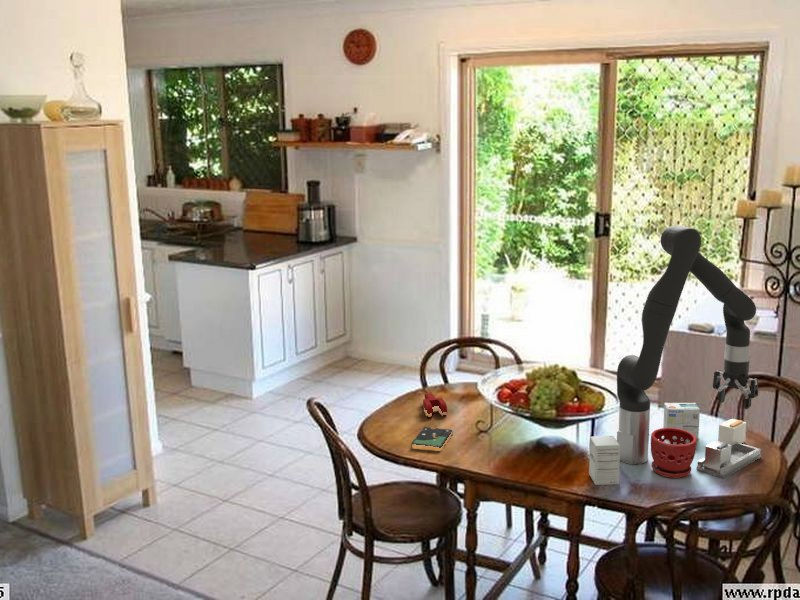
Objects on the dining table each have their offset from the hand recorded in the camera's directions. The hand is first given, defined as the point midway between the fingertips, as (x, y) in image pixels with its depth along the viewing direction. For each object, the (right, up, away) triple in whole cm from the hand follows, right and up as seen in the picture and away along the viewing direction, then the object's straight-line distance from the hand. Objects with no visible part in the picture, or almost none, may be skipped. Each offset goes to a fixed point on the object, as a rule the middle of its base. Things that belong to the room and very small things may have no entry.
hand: (734, 405), depth 272 cm
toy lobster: (-96, -7, +40) cm, 105 cm away
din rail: (-6, -17, -12) cm, 21 cm away
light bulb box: (-14, -12, +10) cm, 21 cm away
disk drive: (-97, -15, +11) cm, 99 cm away
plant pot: (-26, -18, -17) cm, 36 cm away
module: (0, -13, +3) cm, 13 cm away
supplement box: (-47, -20, -20) cm, 55 cm away
